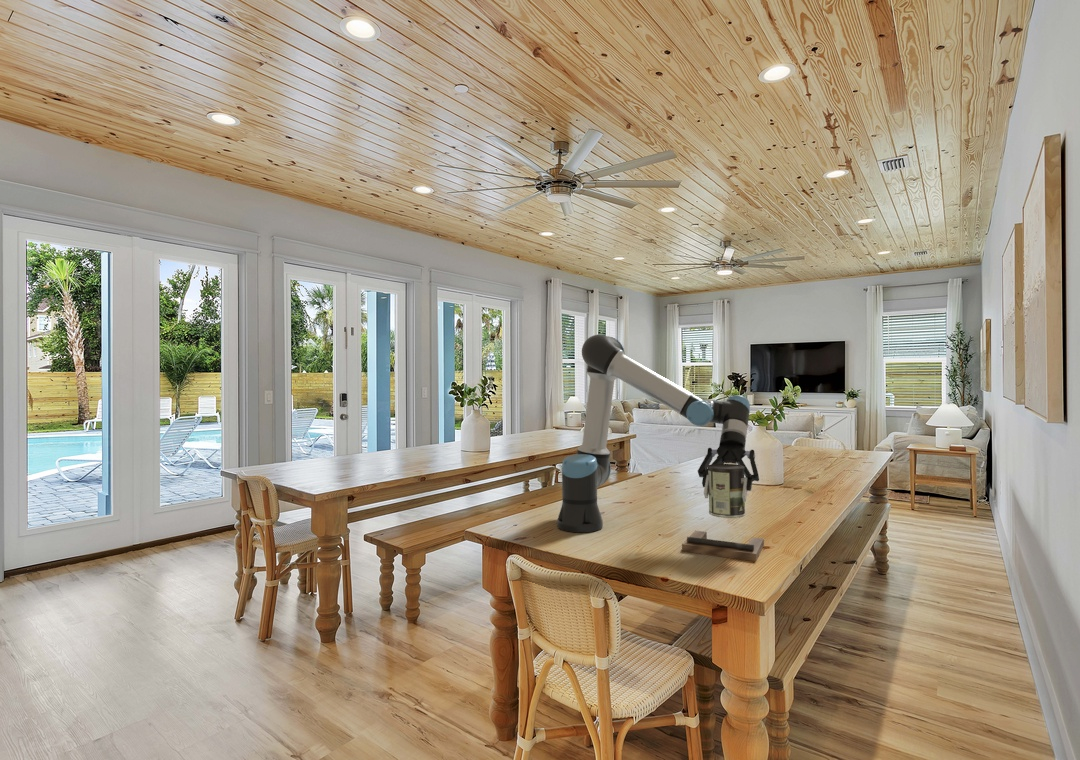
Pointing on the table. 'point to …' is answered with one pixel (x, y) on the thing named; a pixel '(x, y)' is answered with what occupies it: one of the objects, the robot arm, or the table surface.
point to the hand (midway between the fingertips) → (724, 497)
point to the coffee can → (726, 490)
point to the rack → (723, 547)
